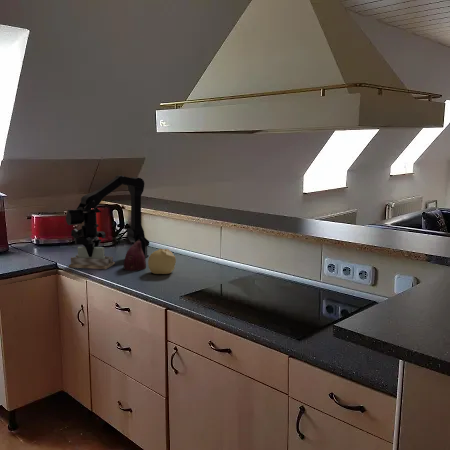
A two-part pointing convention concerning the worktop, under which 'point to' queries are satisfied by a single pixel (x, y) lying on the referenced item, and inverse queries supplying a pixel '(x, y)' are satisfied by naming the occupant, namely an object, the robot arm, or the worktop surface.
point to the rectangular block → (97, 253)
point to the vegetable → (135, 258)
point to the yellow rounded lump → (161, 262)
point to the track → (91, 262)
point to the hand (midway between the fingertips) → (91, 256)
